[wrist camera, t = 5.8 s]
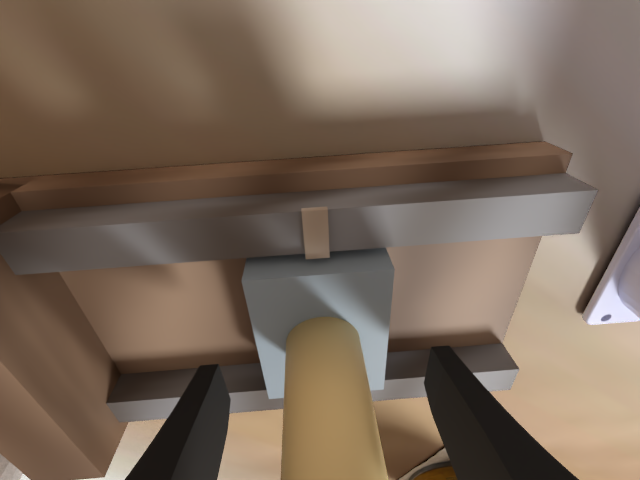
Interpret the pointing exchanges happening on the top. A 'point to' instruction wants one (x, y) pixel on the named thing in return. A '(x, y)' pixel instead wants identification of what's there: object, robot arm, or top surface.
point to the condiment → (433, 469)
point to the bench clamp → (227, 270)
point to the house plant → (8, 470)
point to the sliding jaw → (324, 356)
